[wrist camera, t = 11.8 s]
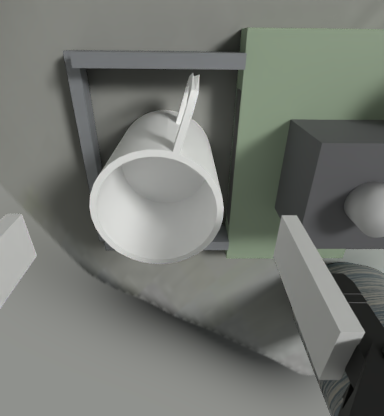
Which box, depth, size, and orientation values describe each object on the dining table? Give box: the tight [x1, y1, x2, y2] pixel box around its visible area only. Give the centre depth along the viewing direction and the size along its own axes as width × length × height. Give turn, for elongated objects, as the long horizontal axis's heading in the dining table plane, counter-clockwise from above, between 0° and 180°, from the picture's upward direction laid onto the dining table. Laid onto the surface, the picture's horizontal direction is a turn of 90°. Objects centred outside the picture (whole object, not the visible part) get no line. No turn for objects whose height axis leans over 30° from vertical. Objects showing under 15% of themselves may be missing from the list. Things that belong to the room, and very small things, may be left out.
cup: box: [89, 73, 224, 264], centre depth 21 cm, size 8×12×10 cm
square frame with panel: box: [63, 28, 384, 258], centre depth 22 cm, size 20×25×10 cm
